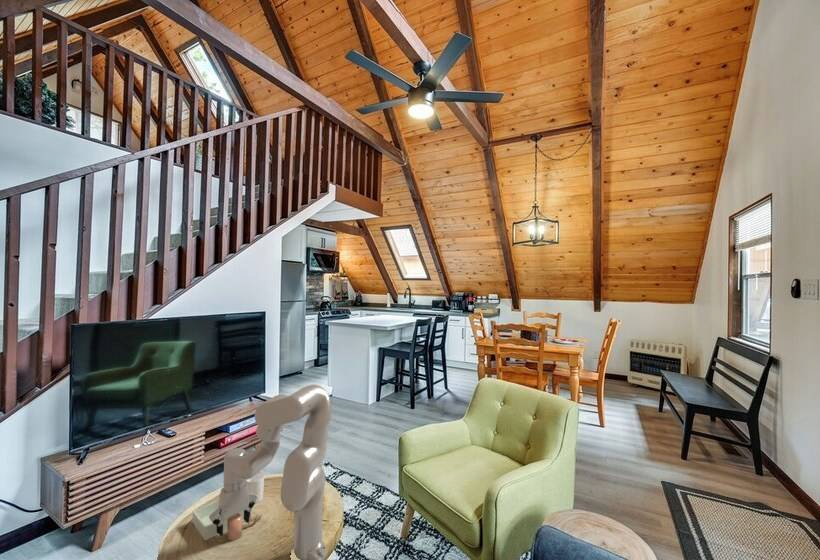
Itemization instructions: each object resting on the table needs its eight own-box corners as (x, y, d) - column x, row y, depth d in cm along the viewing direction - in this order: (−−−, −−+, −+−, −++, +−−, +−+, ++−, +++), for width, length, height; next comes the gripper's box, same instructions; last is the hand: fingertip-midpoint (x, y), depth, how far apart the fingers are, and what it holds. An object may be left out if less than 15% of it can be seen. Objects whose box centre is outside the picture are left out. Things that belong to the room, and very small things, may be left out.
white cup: (255, 506, 154) (255, 483, 154) (240, 502, 157) (240, 479, 156) (268, 495, 162) (268, 473, 161) (253, 491, 164) (254, 470, 164)
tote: (250, 517, 147) (251, 505, 147) (204, 540, 135) (205, 527, 134) (237, 503, 156) (237, 491, 156) (192, 523, 143) (192, 511, 143)
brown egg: (244, 535, 138) (244, 517, 138) (231, 542, 134) (231, 524, 134) (238, 529, 141) (238, 511, 141) (225, 536, 137) (224, 518, 137)
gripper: (252, 470, 146) (251, 511, 146) (206, 488, 133) (205, 534, 134) (261, 478, 141) (260, 520, 141) (214, 498, 128) (212, 545, 129)
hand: (233, 527), depth 137 cm, fingers open, 9 cm apart
